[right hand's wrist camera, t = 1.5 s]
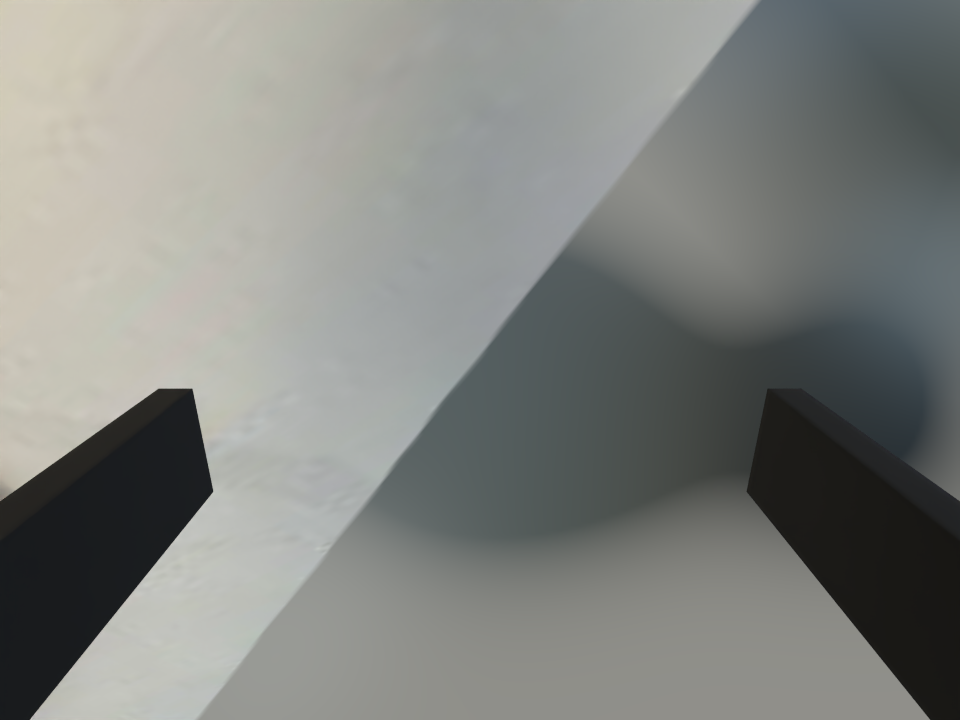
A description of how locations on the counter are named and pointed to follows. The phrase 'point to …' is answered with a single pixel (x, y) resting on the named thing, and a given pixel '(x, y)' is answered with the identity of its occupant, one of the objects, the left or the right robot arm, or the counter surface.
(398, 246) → the counter surface
